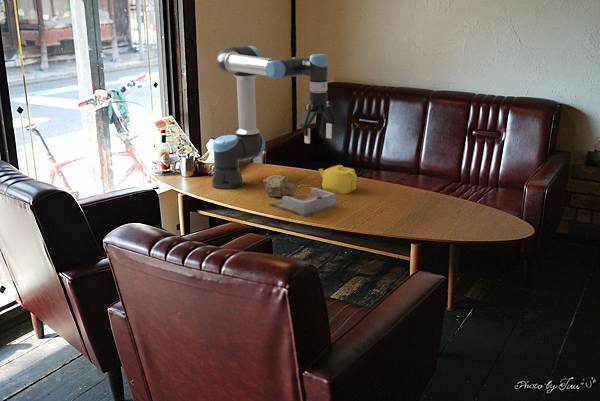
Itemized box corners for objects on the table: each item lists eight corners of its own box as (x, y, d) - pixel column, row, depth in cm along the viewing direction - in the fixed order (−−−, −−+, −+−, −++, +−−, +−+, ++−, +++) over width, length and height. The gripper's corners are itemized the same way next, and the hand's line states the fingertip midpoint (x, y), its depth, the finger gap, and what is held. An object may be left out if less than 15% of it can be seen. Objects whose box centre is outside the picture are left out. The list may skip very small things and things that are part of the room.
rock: (276, 188, 284) (288, 173, 289) (256, 186, 292) (267, 170, 297) (287, 205, 291) (298, 190, 296) (266, 202, 299) (277, 187, 304)
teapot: (312, 189, 304) (312, 165, 301) (325, 183, 314) (326, 159, 311) (349, 196, 294) (350, 171, 290) (362, 189, 304) (363, 165, 300)
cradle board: (268, 205, 282) (268, 202, 281) (299, 196, 294) (299, 193, 294) (304, 217, 267) (304, 214, 266) (335, 206, 279) (335, 204, 279)
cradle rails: (282, 207, 275) (282, 195, 273) (313, 197, 288) (313, 186, 286) (305, 214, 266) (305, 202, 264) (336, 204, 278) (336, 192, 277)
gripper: (304, 95, 262) (304, 146, 268) (344, 89, 279) (343, 137, 285) (291, 93, 267) (291, 143, 274) (332, 87, 284) (331, 134, 290)
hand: (318, 140), depth 279 cm, fingers open, 13 cm apart
